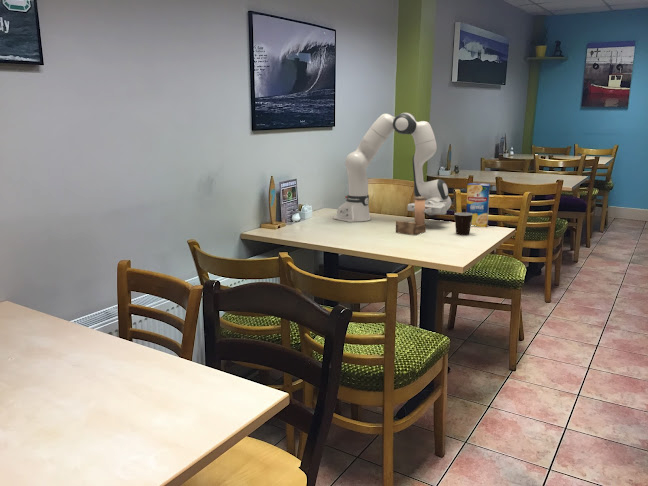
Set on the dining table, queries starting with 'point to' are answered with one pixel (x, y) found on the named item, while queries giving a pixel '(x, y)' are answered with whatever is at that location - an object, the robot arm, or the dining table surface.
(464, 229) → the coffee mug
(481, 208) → the blue yellow food box
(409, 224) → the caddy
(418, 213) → the canister
